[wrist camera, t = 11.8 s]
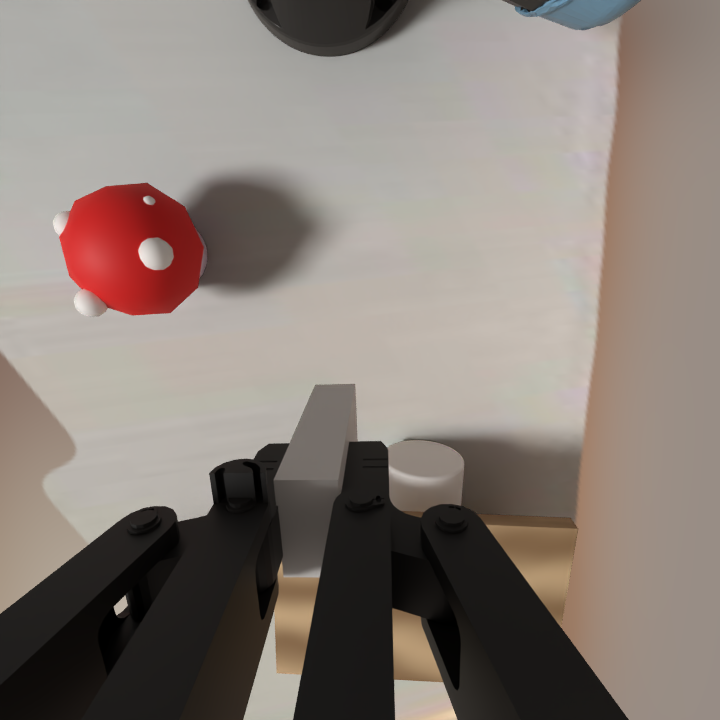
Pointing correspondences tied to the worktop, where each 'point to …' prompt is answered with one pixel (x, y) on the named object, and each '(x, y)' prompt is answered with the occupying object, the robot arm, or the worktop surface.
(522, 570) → the small wooden shelf
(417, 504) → the mug
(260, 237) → the worktop surface
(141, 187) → the mushroom
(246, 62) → the worktop surface
